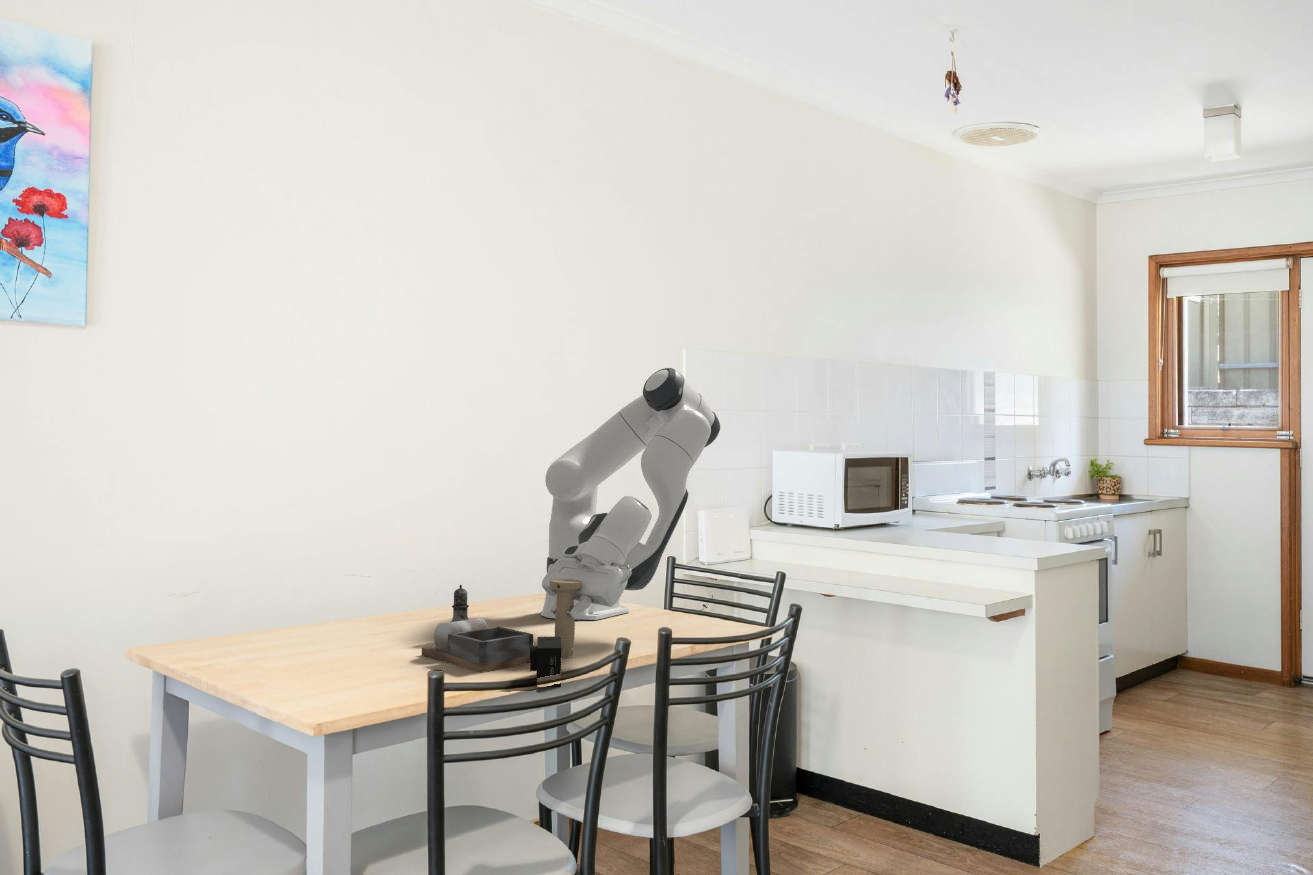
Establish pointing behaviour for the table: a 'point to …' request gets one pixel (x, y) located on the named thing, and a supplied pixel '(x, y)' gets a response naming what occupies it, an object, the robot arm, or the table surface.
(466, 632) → the base
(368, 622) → the table surface
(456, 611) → the dark grey chess piece
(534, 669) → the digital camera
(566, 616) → the handle
